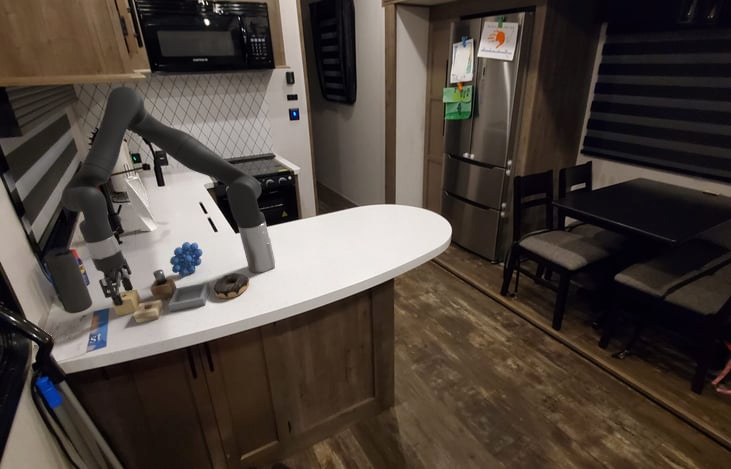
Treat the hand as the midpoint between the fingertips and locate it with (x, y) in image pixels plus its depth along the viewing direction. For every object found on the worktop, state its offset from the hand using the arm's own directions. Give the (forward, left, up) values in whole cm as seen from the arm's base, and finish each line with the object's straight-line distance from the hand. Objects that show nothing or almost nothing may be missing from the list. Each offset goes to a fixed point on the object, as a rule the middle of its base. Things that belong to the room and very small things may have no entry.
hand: (124, 297), depth 117 cm
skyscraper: (+14, -73, -4) cm, 74 cm away
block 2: (-10, -4, -4) cm, 12 cm away
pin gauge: (-10, -4, -4) cm, 12 cm away
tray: (-19, +2, -4) cm, 20 cm away
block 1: (0, 0, -4) cm, 4 cm away
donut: (-32, +1, -5) cm, 32 cm away
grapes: (-15, -18, -4) cm, 24 cm away
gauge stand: (-8, +7, -4) cm, 12 cm away
